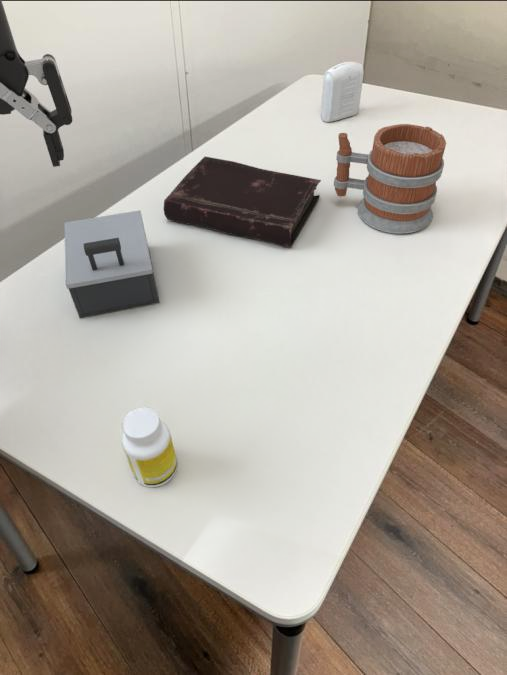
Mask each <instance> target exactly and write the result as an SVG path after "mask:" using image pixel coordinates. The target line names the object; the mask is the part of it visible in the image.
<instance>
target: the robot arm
mask: <svg viewBox="0 0 507 675" xmlns="http://www.w3.org/2000/svg"><path fill="white" fill-rule="evenodd" d="M29 76H33V77H35V78H36V79H37V82H39V84H41V85H42V86H48V89H49V92H50V95H51V98H52V101H53V104H54V107H55V109H53V110H51V111H50V110H49V109H48V108H47V107H46V106H45V105H43V104H42V103H41V102H40V101H39V99H38V98H37V96H36V95H34V94H33V93H32V92H31V91H30V90H28V88H26V85H27V83H28V80H29ZM65 88H66V87H65V85H64V82H63V80H62V76H61V73H60V70H59V67H58V63H57V60H56V58H55V57H54V56H53V55H52V54H50V53H46V54H44V55H43V56H42V58H40V59H34V60H27V61H25V60H24V58H23V57H22V56H21V54H20V53H19V52H18V49H17V45H16V43H15V40H14V36H13V33H12V30H11V26H10V23H9V20H8V17H7V14H6V10H5V8H4V4H3V1H2V0H0V115H1V116H3V115H11V114H12V112H13V111H15V110H16V111H17V112H18V113H19V114H21V115H22V116H23V117H24V118H25V119H27V120H29V121H32V122H33V123H34V124H36V125H37V126H38V127H39V128H41V129H42V134H43V139H44V143H45V145H46V148H47V152H48V155H49V158H50V162H51V164H52V167H53V168H56V167H61V161H64V158H65V153H64V152H65V151H64V150H65V149H64V146H63V142H62V139H61V136H60V132H59V129H60V128H61V127H63V126H70V125H71V124H72V123H73V116H72V107H71V104H70V100H69V98H68V95H67V91H66V89H65Z"/></svg>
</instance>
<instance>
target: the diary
mask: <svg viewBox="0 0 507 675" xmlns="http://www.w3.org/2000/svg"><path fill="white" fill-rule="evenodd" d="M321 182H322V180H321V179H318V178H311V177H307V176H301V175H297V174H291V173H286V172H280V171H276V170H275V171H274V170H269V169H264V168H259V167H255V166H252V165H248V164H244V163H241V162H238V161H233V160H227V159H221V158H216V157H211V156H205V155H204V156H203V157H202V158H201V160H199V161H198V163H197V164H195V165H194V166H193V168H191V170H189V172H187V174H186V175H185V176H184V177H183V178H182V179H181V180H180V182H179V183H178V184H177V185H176V186H175V187H174V189H173V190H172V191H171V192H170V193H169V194H168V195H167V196H166V197H165V199H164V201H163V213H164V216H165V219H166V220H168V221H170V222H176V223H182V224H186V225H191V226H196V227H200V228H205V229H208V230H212V231H217V232H220V233H224V234H228V235H233V236H238V237H243V238H248V239H252V240H253V239H254V240H257V241H258V240H259V241H263V242H265V243H269V244H273V245H276V246H277V245H278V246H281V247H283V248H288V249H292V247H293V245H294V242H295V241H296V240H297V238H298V236H299V235H300V232H301V231H302V230H303V227H305V224H306V222H307V220H308V219H309V217H310V216H311V214H312V212H313V210H314V208H315V207H316V205H317V203H318V201H319V199H320V197H321V196H320V194H318V195H315V191H316V190H317V187H318V186H319V184H320V183H321Z"/></svg>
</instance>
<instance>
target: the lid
mask: <svg viewBox="0 0 507 675" xmlns="http://www.w3.org/2000/svg"><path fill="white" fill-rule="evenodd" d="M142 220H143V217H142V212H141V210H140V209H139V210H133V211H128V212H122V213H116V214H115V213H114V214H110V215H109V214H107V215H103V216H97V217H90V218H84V219H78V220H71V221H65V222H64V259H65V260H64V261H65V262H64V263H65V264H64V265H65V267H64V268H65V287H66V289H67V290H69V289H70V288H75V287H81V286H86V285H92V284H97V283H103V282H108V281H114V280H119V279H125V278H130V277H136V276H141V275H147V274H152V273H154V269H153V270H152V268H153V264H152V265H151V263H152V259H151V260H150V258H151V254H150V255H149V253H150V249H149V250H148V248H149V244H148V239H147V234H146V229H145V225H144V220H143V221H142ZM143 225H144V226H143ZM145 234H146V235H145ZM146 239H147V240H146ZM147 244H148V245H147Z"/></svg>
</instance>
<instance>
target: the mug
mask: <svg viewBox="0 0 507 675" xmlns="http://www.w3.org/2000/svg"><path fill="white" fill-rule="evenodd" d="M348 137H349V136H348V133H347V132H340V133H338V137H337V138H338V143H339V144H338V145H339V148H338V150H337V152H336V162H337V163H336V164H337V167H336V176H335V177H334V180H333V187H334V190H335V194H336V196H337V197H339V198H343V197H346V196H347V191H348V189H354V190H361V191H362V195H363V198H362V199H361V201H360V202H359V203H358V206H357V212H358V215H359V217H360V219H362V221H363V222H364V224H367V225H368V226H369V227H370V228H372V229H374V230H377V231H380V232H382V233H387V234H393V235H405V234H406V235H408V234H413V233H415V232H416V233H417V232H418V231H421V230H423V229H425V228H426V227H428V226H429V225H430V224H431V222H432V221H433V218H434V213H433V210H432V206H433V205H434V204H435V200H436V197H437V193H438V186H437V182H438V181H439V180H440V179H441V177H442V174H443V170H444V167H445V160H444V154H445V149H446V146H447V140H446V139H445V136H444V135H443V134H442V133H439V132H438V131H436V130H434V129H433V128H432V127H431V126H421V125H418V124H417V125H416V124H410V123H398V124H392V125H388V126H383V127H381V128H379V129H378V130H377V131H376V132H375V134H374V137H373V143H372V150H370V151H369V153H362V152H361V153H360V152H354V151H352V150H353V148H352V146H351V141H350V140H349V138H348ZM351 163H355V164H363V165H366V170H367V172H368V175H367V176H366V177H365V179H360V178H352V177H350V168H351Z"/></svg>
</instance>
